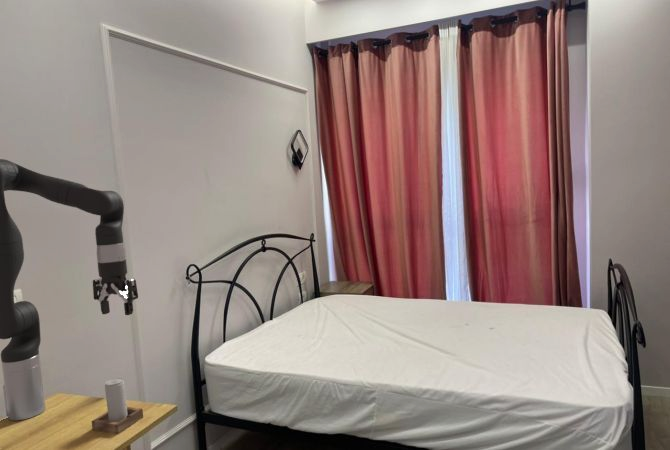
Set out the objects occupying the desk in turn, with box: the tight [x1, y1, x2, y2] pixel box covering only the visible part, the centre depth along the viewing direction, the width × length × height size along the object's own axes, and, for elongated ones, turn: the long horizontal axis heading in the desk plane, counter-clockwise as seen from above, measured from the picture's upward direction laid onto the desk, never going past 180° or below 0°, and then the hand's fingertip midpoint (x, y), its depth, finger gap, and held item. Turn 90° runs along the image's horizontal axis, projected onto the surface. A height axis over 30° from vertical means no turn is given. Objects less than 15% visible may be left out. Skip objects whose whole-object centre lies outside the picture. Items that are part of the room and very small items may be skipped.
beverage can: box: [104, 377, 128, 422], centre depth 128 cm, size 5×5×12 cm
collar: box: [91, 406, 144, 435], centre depth 128 cm, size 9×9×3 cm
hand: (117, 314), depth 136 cm, fingers open, 8 cm apart
